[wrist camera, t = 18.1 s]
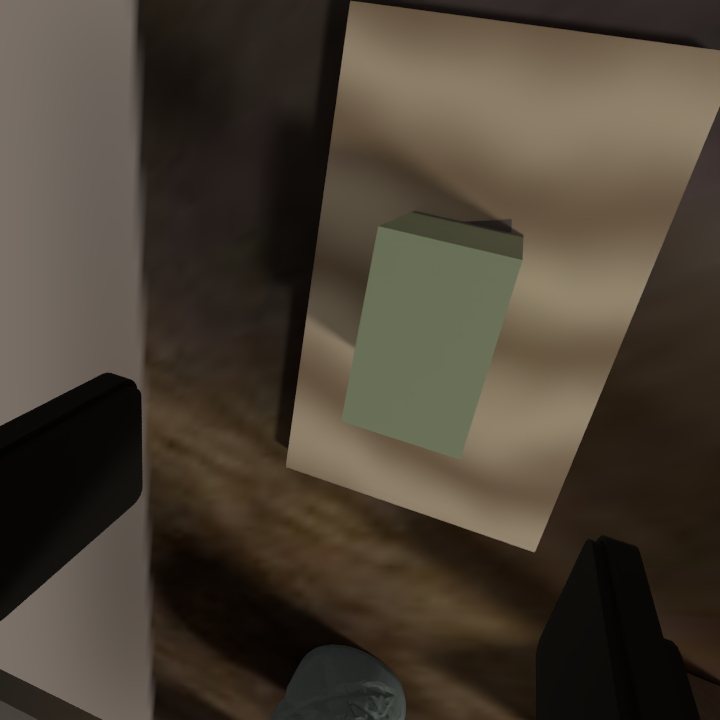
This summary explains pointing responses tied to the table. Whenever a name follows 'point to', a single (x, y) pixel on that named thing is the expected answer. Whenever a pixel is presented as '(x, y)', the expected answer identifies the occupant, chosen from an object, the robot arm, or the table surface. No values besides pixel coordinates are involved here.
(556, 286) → the birch board
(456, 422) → the block
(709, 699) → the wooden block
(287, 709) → the blue cup
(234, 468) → the table surface
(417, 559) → the table surface
